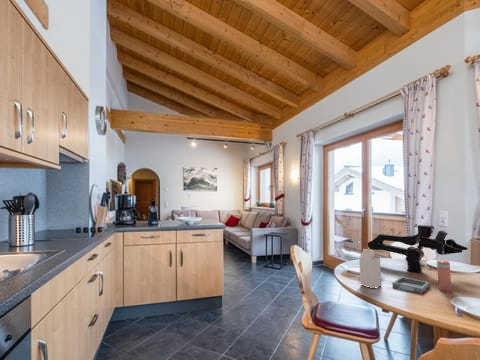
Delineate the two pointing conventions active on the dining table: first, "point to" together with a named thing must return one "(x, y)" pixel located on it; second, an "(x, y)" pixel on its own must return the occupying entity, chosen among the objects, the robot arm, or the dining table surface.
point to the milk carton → (370, 268)
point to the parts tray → (411, 285)
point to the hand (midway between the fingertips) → (464, 250)
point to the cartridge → (444, 276)
